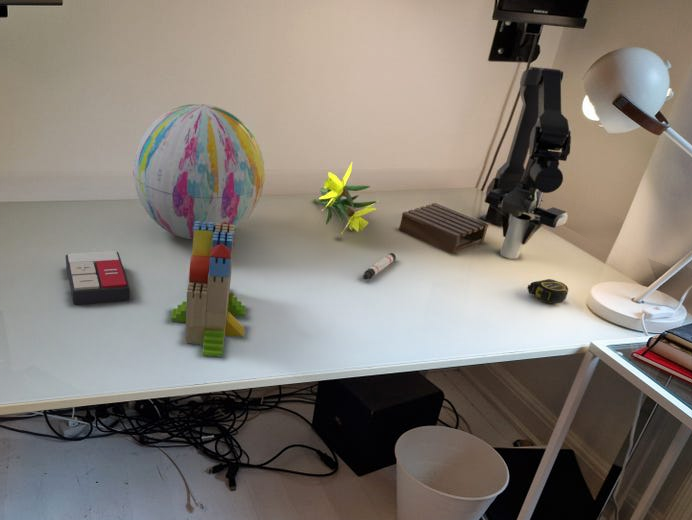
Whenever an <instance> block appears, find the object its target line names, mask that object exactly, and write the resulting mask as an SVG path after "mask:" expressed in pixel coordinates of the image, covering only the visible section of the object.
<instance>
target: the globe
mask: <svg viewBox="0 0 692 520" xmlns="http://www.w3.org/2000/svg"><path fill="white" fill-rule="evenodd" d="M264 163H265V162H264V158H263V153H262V150H261V147H260V145H259V143H258V141H257V139H256V137H255V135H254V134H253V133H252V131H251V130H250V128H249V127H248V126H247V125H246V124H245V123H244V122H243V121H242V120H241V119H239V117H237V116H236V115H234V114H233V113H231V112H229V111H227V110H226V109H224V108H222V107H218V106H215V105H211V104H205V103H191V104H185V105H181V106H177V107H175V108H172V109H171V110H168V111H166V112H165V113H163V114H162V115H161V116H159V117H157V118H156V120H154V121H153V122H152V123H151V125H150V126H149V127H148V128H147V129H146V130H145V132H144V133H143V135H142V137H141V139H140V141H139V143H138V145H137V147H136V150H135V155H134V160H133V170H132V174H133V182H134V188H135V191H136V195H137V197H138V199H139V201H140V203H141V205H142V207H143V209H144V210H145V212H146V213H147V215H148V216H149V217H150V219H152V220H153V221H154V222H155V223H156V224H157V225H158V226H159V227H161V228H162V229H164V230H165V231H167V232H169V233H170V234H172V235H174V236H177V237H180V238H182V239H185V240H192V241H193V233H194V225H195V221H200V226H201V225H202V223H203V222H207V227H208V226H209V222H213V223H214V226H215V225H216V223H219V224H221V223H223V222H226V223H228V224H229V225H235V230H237V229H238V228H239V227H241V225H243V224H244V223H246V221H247V220H248V219H249V218H250V216H251V215H252V214H253V212H254V211H255V209H256V208H257V206H258V204H259V201H260V199H261V196H262V194H263V189H264V183H265V164H264ZM201 227H202V226H201Z"/></svg>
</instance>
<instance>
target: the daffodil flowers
mask: <svg viewBox="0 0 692 520" xmlns="http://www.w3.org/2000/svg"><path fill="white" fill-rule="evenodd" d="M352 170H353V162H351V163H350V164H349V167H348V168H347V170H346V172H345V174H344V176H343V177H342V180H341V179H339V177H338V176H337V175H336V174H334V173H333V172H330V171H328V172H327V175H328V177H327V178H326V180H325V181H324V184H323V187H322V188H320V190H319V192H320V193H321V195H322V196H320V197H319V198H318V199H316V198H313V201H314V202H315V203H317V204H319V205H323V206H324V208H323V210H325V209H326V210H327V215H326V219H325V225H328V224H329V222H330V221H331V219H332V216H333V213H332V209H333V211H334V212H335V213H336V215H337V216H338V218H339V220H340V221H341V223H342V224H344V218H343V217H344V216H343V214H344V215H345V216H346V217H347V218H348V222H347V224H346V226H345V228H344V229H343V230H342V232H341V233H340V235H342V234H343V232H344V231H345V229H346V228H347V227H348V228H349V229H350V230H351V231H352V230H353V229H354V230H355V231H356V232H357V233H358V232H359V230H360V231H363V230H364V228H366V227H367V225H368V224H369V222H368V221H367V220H365V219H364V218H362V217H361V216H364V215H366V214H369V213H371V212H374V211H376V210H377V208H376V207H373V205H375V204H376V203H377V202H378V200H373V201H364V202H363V201H361V202H354V200H356V199H357V198H358V197H359V195H353V196H352V195H351V194H350V192H359V191H363V190H366V189H369V188H371V186H370V185H360V184H359V185H358V184H357V185H353V184H347V181H348V179H349V178H350V175H351V173H352ZM349 191H350V192H349ZM343 197H345V198H343ZM350 207H351V208H350ZM331 208H332V209H331ZM352 208H353V209H352ZM361 208H363V209H361ZM354 209H361V210H358V211H355V210H354ZM342 213H343V214H342Z"/></svg>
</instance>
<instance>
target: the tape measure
mask: <svg viewBox="0 0 692 520" xmlns="http://www.w3.org/2000/svg"><path fill="white" fill-rule="evenodd" d="M526 289H527V290H528V291H527V292H528V294H530V295H532V296H534V297H536V299H538V300H540V301H542V302H545V303H549V304H561V303H563V302H564V301H566V299H567V296H568V293H569V287H568V286H567V285H566V284H565V283H563V282H561V281H558V280H555V279H551V278H550V279H549V278H548V279H541V280H536V281H532V282H531V283H530V284H527V287H526Z"/></svg>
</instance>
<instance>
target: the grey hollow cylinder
mask: <svg viewBox="0 0 692 520" xmlns="http://www.w3.org/2000/svg"><path fill="white" fill-rule="evenodd" d="M532 219H533V217H532V216H531V215H530V214H528V213H522V215H520V216H518V217H515V216H513V215H512V218H511V221H510V224H509V227H508V230H507V233H506V236H505V237H504V240H503V242H502V245H501V248H500V251H499V254H500V256H502V257H504V258H506V259H509V260H516V259H519V257H520V255H521V252H522V249H523V246H524V245H523V244H522V242H523V239H524V236H525V234H526V231H527V229H528V227H529V220H532Z"/></svg>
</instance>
